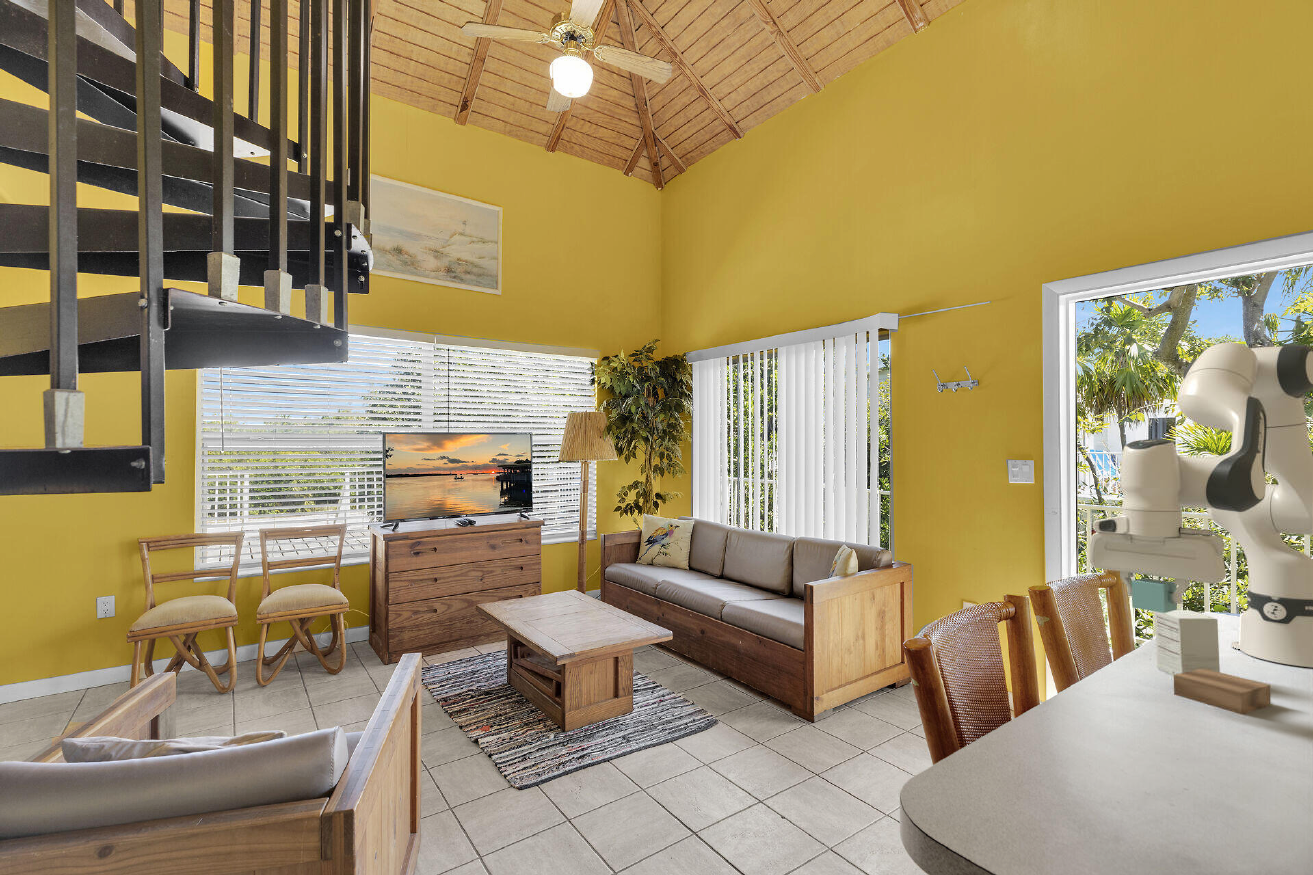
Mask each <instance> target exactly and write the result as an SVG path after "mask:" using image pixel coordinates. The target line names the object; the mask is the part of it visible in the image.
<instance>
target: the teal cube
mask: <svg viewBox="0 0 1313 875" xmlns="http://www.w3.org/2000/svg"><path fill="white" fill-rule="evenodd" d="M1131 582H1132V596H1131V604H1132V605H1131V606H1132V609H1133V608H1134V609H1139V610H1144V611H1145V610H1146V611H1151V612H1155V611H1156V612H1161V613H1166V612H1170V611H1174V610H1178V604H1176V603H1170V602H1169V601H1168V599H1169V597H1168V593H1171V592H1175V590H1176V589H1177V585H1176V584H1175V581H1167V580H1162V579H1161V580H1159V579H1153V578H1146V577H1143V578H1138V579H1133V580H1132V581H1131Z"/></svg>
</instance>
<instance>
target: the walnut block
mask: <svg viewBox="0 0 1313 875" xmlns="http://www.w3.org/2000/svg"><path fill="white" fill-rule="evenodd" d="M1173 695H1174V696H1177V697H1182V698H1185V699H1188V700H1191V701H1194V702H1198V703H1201V704H1203V705H1208V706H1211V707H1215V708H1218V709H1222V710H1224V711H1225V710H1226V711H1229V712H1232V713H1235V714H1238V715H1245V714H1247V713H1250V712H1253V711H1254V712H1255V711H1257V710H1260V709H1263V708H1266V707H1267V708H1268V707H1269V706H1271V705H1272V703H1271V701H1272V700H1271V698H1272V697H1271V684H1267V683H1263V682H1259V681H1255V680H1251V679H1247V678H1244V677H1240V676H1236V675H1231V674H1227V673H1224V672H1221V671H1220V672H1216V671H1212V670H1209V669H1205V668H1201V669H1197V670H1192V671H1188V672H1184V673H1180V674H1176V675H1174V676H1173Z"/></svg>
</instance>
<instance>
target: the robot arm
mask: <svg viewBox="0 0 1313 875" xmlns="http://www.w3.org/2000/svg"><path fill="white" fill-rule="evenodd" d="M1312 390H1313V348H1312V347H1310V346H1309V345H1304V344H1285V345H1283V346H1261V347H1249V346H1247V345H1245V344H1242V343H1238V342H1231V341H1229V342H1228V341H1227V342H1220V343H1215V344H1212V345H1211V346H1209V347H1207V348H1206V349H1204V350H1203V352H1202V353H1201V354H1200V355H1199V356H1198V357H1197V358H1195V359H1193V360H1191V362H1190V363H1188V364H1187V365H1186V367H1185V368H1184V372H1183V380H1182V383H1181V385H1180V387H1179V390H1178V392H1177V397H1176V398H1177V400H1176V401H1177V405H1178V408H1179V409H1180V411H1181V413H1182V414H1183V415H1184V416H1185V417H1187V419H1188V420H1191V421H1192V422H1193V423H1196V424H1198V425H1201V426H1203V427H1205V428H1210V429H1218V430H1223V431H1227V432H1230V433H1232V436H1231V443H1230V444H1231V445H1230V451H1229V452H1228V453H1226V454H1222V455H1218V456H1217V455H1216V456H1180V455H1179V454H1178V452H1177V448H1176V445H1175V443H1174V441H1173V440H1169V439H1166V438H1165V439H1164V438H1152V439H1151V438H1149V439H1148V438H1147V439H1140V440H1133V441H1132V442H1129V443H1127V444H1125V445H1124V447H1123V449H1122V450H1123V451H1122V455H1121V462H1120V487H1121V491H1122V493H1123V502H1122V504H1121V514H1120V515H1115V516H1111V517H1108V518H1103V519H1098V520H1095V521H1094V522H1093V523H1092V527H1093V531H1095V533H1093V535H1091V537H1090V542H1089V551H1088V552H1089V554H1088V555H1089V556H1088V560H1089V563H1090V564H1091V566H1093V568H1096V569H1101V570H1108V571H1116V572H1119V577H1120V579H1121V580H1122V582H1123V583H1124V585H1125V586H1126V590H1127V591H1126V592H1127V596H1128V597H1132V582H1131V581H1132V578H1133V577H1134V574H1139V575H1146V576H1154V577H1162V578H1168V579H1174V582H1175V584H1176V590H1175V592H1171V593H1168V597H1169V599H1168V601H1169V602H1170V603H1176V604H1177V605H1181V604H1182V603H1183V594H1184V592H1185V591H1186V590H1188V588H1189V586H1190V581H1192V582H1198V583H1205V584H1211V585H1212V584H1218V583H1221V582H1223V581H1224V580H1225V578H1226V566H1225V562H1224V556H1223V553H1224V550H1225V545H1224V544H1225V543H1224V539H1223V537H1222V536H1221V535H1219V534H1218V533H1216V532H1214V531H1213V530H1211V529H1205V528H1204V529H1198V528H1197V529H1196V528H1193V527H1191V528H1190V527H1183V515H1182V514H1183V512H1182V507H1183V508H1197V509H1199V508H1200V509H1206V512H1207V514H1208V515H1209V517H1210V519H1211V520H1212V521H1213V522H1214V523H1215V524H1217V525H1218V526H1220V528H1223V529H1224V530H1226V531H1227V532H1228V533H1229V534H1230V535H1232V537H1233V538H1234V539H1235V540H1236V542H1237V543H1238V544H1239V546H1240V547H1241V548H1242V551H1243V552H1244V555H1245V558H1246V559H1245V560H1246V563H1247V570H1248V582H1249V590H1247V595H1246V600H1247V606H1248V609H1247V610H1246V611H1243V612H1242V613H1240V615H1239V629H1238V630H1239V631H1238V632H1239V635H1238V637H1239V638H1238V641H1235V642H1233V641H1232V642H1231V643H1230V647H1231V648H1232V647H1234V648H1233V649H1235V648H1236V649H1235V650H1238V649H1240V650H1239V651H1241V652H1242V653H1244V654H1246V655H1249V656H1251V657H1253V658H1258V659H1261V660H1265V661H1268V662H1274V663H1278V664H1283V665H1289V666H1290V665H1291V666H1297V667H1306V668H1313V558H1311V557H1310V556H1309V555H1307V554H1306V553H1304V552H1302V551H1299V550H1297V549H1295V548H1292V547H1290V546H1289V545H1287V543H1285V542H1284V540H1283V539H1282V537H1281V534H1294V535H1304V536H1305V535H1306V536H1313V452H1312V447H1311V444H1310V438H1309V432H1308V423H1307V416H1306V410H1305V406H1304V402H1303V399H1302V397H1303V396H1304V394H1306V393H1308V392H1310V391H1312ZM1266 472H1267V473H1268V474H1270V476H1272V477H1273V478H1274V479H1275V480H1276V483H1277V484H1270V483H1269V484H1267V482H1266Z"/></svg>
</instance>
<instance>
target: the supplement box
mask: <svg viewBox="0 0 1313 875" xmlns="http://www.w3.org/2000/svg"><path fill="white" fill-rule="evenodd" d="M1154 615H1155V617H1154V619H1155V641H1156V642H1155V643H1156V644H1155V645H1156V647H1155V648H1156V667H1157V669H1158V670H1160V671H1162V672H1164V673H1165V674H1167V675H1169V676H1172V677H1174V675H1176V674H1180V673H1184V672H1188V671H1192V670H1197V669H1201V668H1205V669H1209V670H1212V671H1216V672H1220V673H1221V671H1220V668H1221V667H1220V666H1221V665H1220V649H1219V647H1220V646H1219V644H1220V643H1219V626H1218V618H1216V617H1213V616H1210V615H1207V614H1204V613H1200V612H1197V611H1193V610H1189V609H1188V610H1186V609H1185V610H1184V609H1183V610H1182V609H1177V610H1174V611H1170V612H1166V613H1161V612H1156V611H1154Z"/></svg>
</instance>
